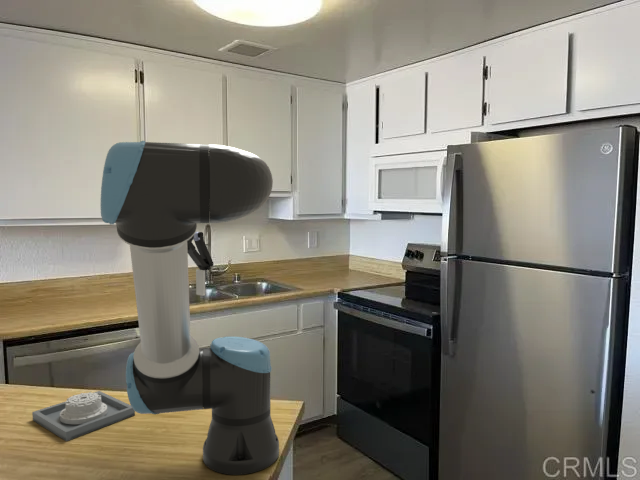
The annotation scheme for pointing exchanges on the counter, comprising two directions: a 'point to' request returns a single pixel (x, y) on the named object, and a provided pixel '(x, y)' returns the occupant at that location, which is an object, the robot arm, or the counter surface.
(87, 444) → the counter surface
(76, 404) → the mechanical component
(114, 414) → the dock tray
